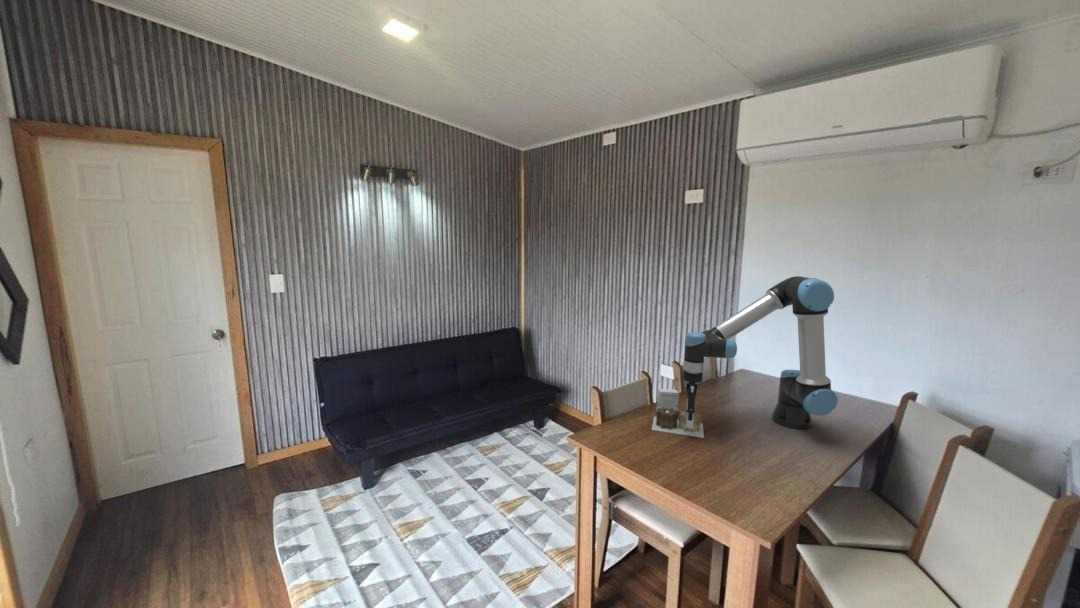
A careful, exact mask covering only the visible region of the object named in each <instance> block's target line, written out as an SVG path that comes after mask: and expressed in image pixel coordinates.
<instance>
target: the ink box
mask: <svg viewBox="0 0 1080 608" xmlns="http://www.w3.org/2000/svg"><path fill="white" fill-rule="evenodd" d="M656 399H657V400H656V410H655V411H656V412H657V409H658V408H660V409H661V408H663V407H665V408H669V409H670V408H673V410H675V411H678V412H679V403H680V401H679V399H680V392H679V391H678V390H677V389H668V388H667V389H666V388H665V389H664V388H658V389H657V398H656Z"/></svg>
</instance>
